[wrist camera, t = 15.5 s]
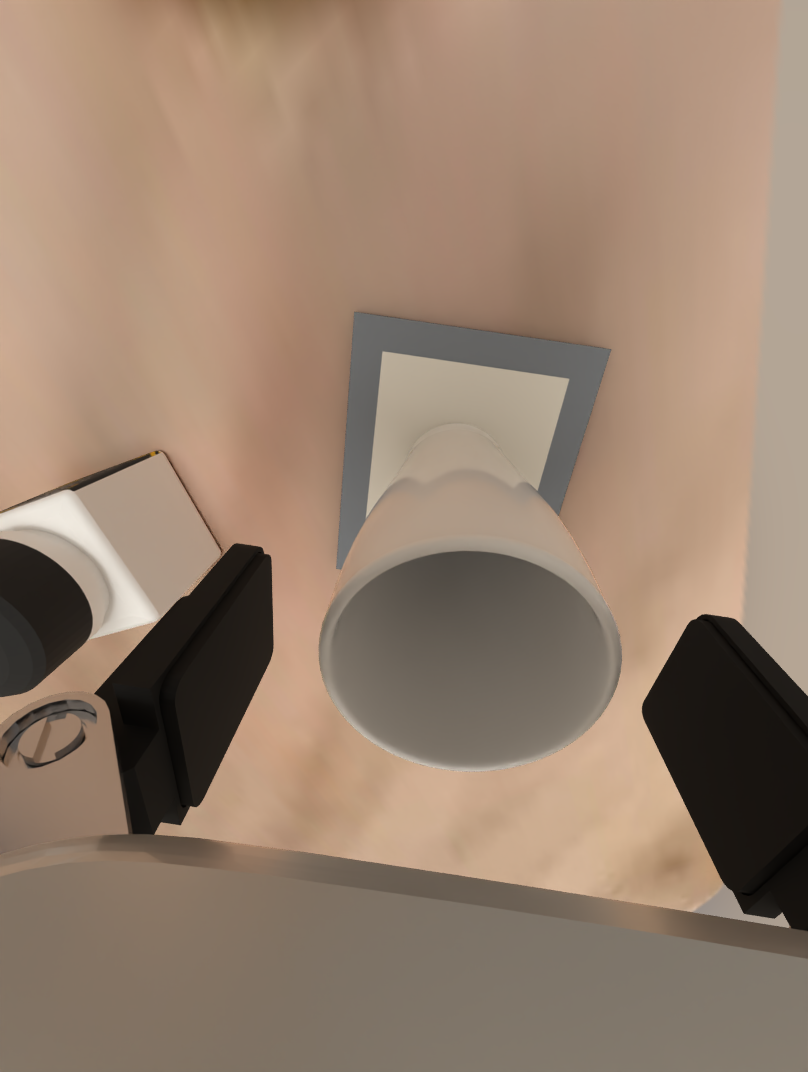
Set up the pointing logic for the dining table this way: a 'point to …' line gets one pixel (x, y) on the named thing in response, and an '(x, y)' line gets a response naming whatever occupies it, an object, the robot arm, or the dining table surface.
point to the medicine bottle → (94, 563)
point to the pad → (461, 403)
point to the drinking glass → (467, 616)
